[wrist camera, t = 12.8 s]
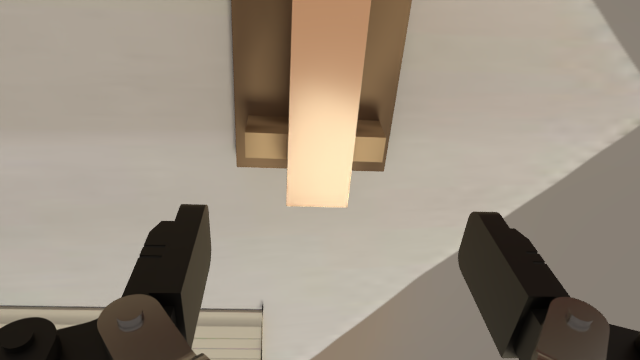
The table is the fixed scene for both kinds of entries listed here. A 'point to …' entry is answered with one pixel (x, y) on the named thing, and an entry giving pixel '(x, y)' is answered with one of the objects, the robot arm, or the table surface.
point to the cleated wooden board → (274, 80)
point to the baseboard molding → (210, 335)
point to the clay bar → (324, 98)
